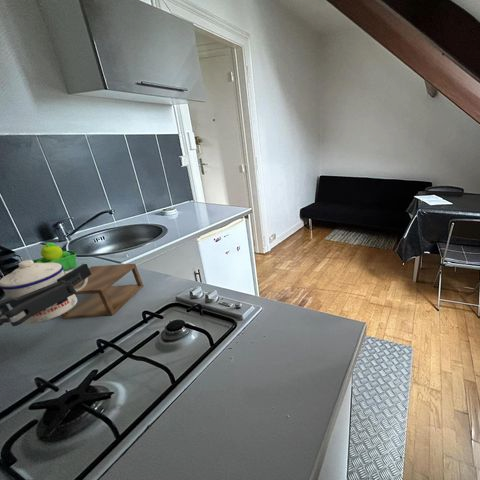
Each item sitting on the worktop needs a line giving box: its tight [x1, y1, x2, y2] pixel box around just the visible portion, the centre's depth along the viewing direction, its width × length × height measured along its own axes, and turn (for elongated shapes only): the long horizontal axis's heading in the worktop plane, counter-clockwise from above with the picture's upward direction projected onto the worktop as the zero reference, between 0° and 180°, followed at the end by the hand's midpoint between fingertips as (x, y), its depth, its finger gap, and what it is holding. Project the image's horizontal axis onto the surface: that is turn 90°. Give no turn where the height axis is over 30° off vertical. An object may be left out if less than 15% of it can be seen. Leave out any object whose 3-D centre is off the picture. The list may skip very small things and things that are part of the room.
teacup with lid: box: [0, 259, 88, 324], centre depth 54 cm, size 12×9×12 cm
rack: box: [60, 263, 144, 320], centre depth 73 cm, size 13×14×8 cm
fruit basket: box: [32, 242, 77, 272], centre depth 93 cm, size 11×9×11 cm
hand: (62, 270), depth 57 cm, fingers closed on teacup with lid, 10 cm apart
